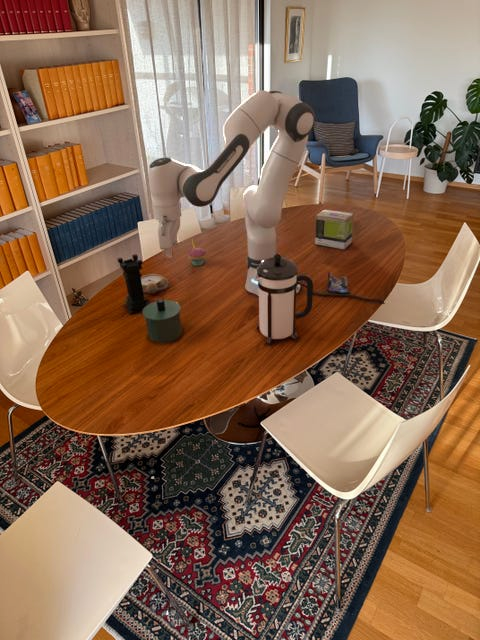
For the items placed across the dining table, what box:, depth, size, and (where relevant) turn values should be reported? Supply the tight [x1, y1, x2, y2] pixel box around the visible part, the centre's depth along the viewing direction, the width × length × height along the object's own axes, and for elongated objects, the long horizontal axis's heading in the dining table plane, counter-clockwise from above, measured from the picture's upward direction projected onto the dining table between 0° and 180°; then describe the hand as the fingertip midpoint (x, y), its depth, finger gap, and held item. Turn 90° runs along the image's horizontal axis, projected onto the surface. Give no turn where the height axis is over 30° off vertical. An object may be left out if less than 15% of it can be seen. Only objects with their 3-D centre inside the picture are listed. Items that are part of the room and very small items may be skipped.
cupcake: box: [187, 239, 208, 267], centre depth 208 cm, size 9×8×12 cm
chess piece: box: [116, 253, 150, 315], centre depth 175 cm, size 8×8×20 cm
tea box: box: [314, 209, 355, 250], centre depth 220 cm, size 15×10×15 cm, turn 58°
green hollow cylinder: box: [144, 312, 183, 344], centre depth 161 cm, size 12×12×10 cm
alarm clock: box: [141, 273, 169, 295], centre depth 192 cm, size 11×5×15 cm
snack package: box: [326, 271, 350, 294], centre depth 185 cm, size 12×6×12 cm
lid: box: [141, 298, 182, 321], centre depth 157 cm, size 13×13×5 cm
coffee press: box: [254, 253, 314, 346], centre depth 153 cm, size 17×16×30 cm
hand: (172, 251), depth 157 cm, fingers open, 8 cm apart
